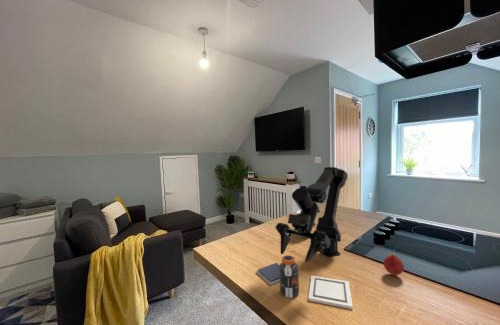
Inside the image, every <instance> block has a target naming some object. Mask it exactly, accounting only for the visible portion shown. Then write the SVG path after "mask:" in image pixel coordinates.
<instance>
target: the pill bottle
mask: <svg viewBox="0 0 500 325" xmlns="http://www.w3.org/2000/svg"><path fill="white" fill-rule="evenodd" d="M279 265H280V282H279V288H280V289H279V291H280V294H281V295H282V296H283V297H285V298H288V299H292V298H296V297H298V295H299V293H300V287H299V286H300V284H299V283H300V282H299V279H300V278H299V266H298V264H297V263H296V260H295V257H294V256H293V255H283V256H282V258H281V262H280V264H279Z"/></svg>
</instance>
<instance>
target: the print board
mask: <svg viewBox="0 0 500 325" xmlns="http://www.w3.org/2000/svg"><path fill="white" fill-rule="evenodd" d="M310 278H311V279H310V283H309V290H308V299H307V300H308V302H309V301H310V302H314V303H318V304H324V305H329V306H333V307H334V306H335V307H339V308H345V309H349V310H353V307H354V306H353V301H352V295H351V288H350V287H351V286H350V281H348V280H342V279H335V278H327V277H321V276H315V275H311V277H310Z"/></svg>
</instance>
